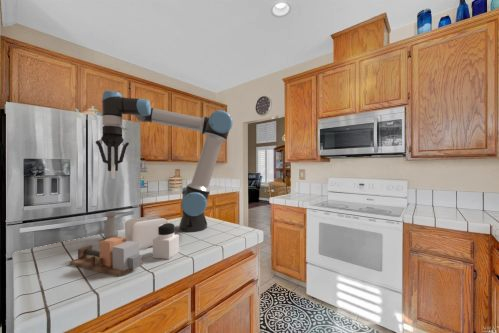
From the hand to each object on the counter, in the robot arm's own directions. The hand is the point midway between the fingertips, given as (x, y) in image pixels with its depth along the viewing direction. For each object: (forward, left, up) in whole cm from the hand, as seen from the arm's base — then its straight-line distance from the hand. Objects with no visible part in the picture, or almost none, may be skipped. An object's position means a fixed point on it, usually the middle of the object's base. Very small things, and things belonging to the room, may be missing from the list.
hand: (112, 178), depth 96 cm
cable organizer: (-11, +12, -30) cm, 34 cm away
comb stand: (+5, +24, -29) cm, 38 cm away
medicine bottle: (-14, +29, -30) cm, 44 cm away
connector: (0, +33, -28) cm, 43 cm away
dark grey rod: (+6, +21, -27) cm, 35 cm away
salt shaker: (0, -8, -30) cm, 31 cm away
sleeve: (+3, +26, -28) cm, 39 cm away
